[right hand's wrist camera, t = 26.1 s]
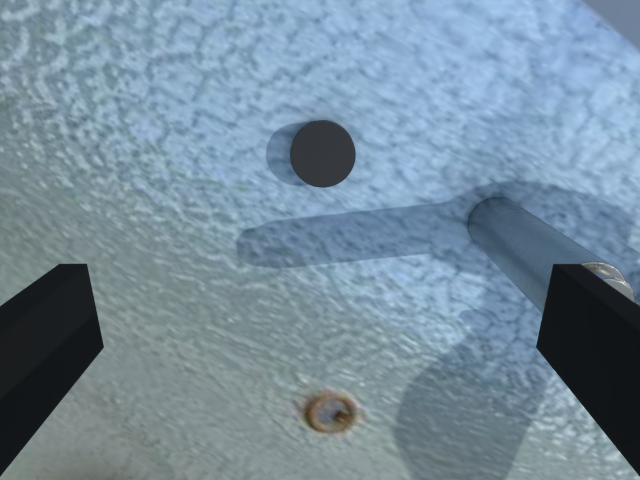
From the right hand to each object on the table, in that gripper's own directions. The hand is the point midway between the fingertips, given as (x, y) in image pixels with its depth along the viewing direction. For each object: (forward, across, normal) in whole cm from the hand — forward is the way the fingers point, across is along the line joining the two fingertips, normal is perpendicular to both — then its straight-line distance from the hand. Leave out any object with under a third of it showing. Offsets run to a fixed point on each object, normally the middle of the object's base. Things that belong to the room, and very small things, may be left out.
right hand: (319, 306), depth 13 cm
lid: (+26, 0, 0) cm, 26 cm away
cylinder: (+27, +16, -6) cm, 32 cm away
